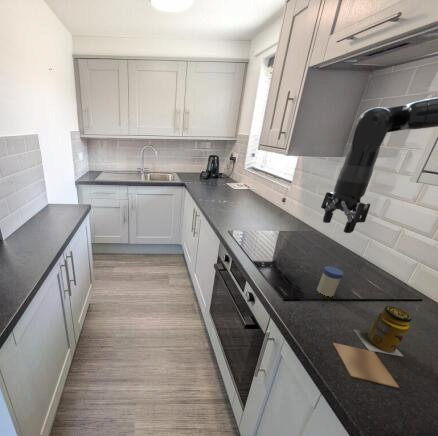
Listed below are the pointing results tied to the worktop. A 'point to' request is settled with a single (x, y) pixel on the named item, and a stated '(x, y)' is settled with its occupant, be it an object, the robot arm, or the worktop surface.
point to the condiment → (386, 331)
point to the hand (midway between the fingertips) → (336, 227)
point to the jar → (327, 285)
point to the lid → (333, 272)
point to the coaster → (364, 365)
